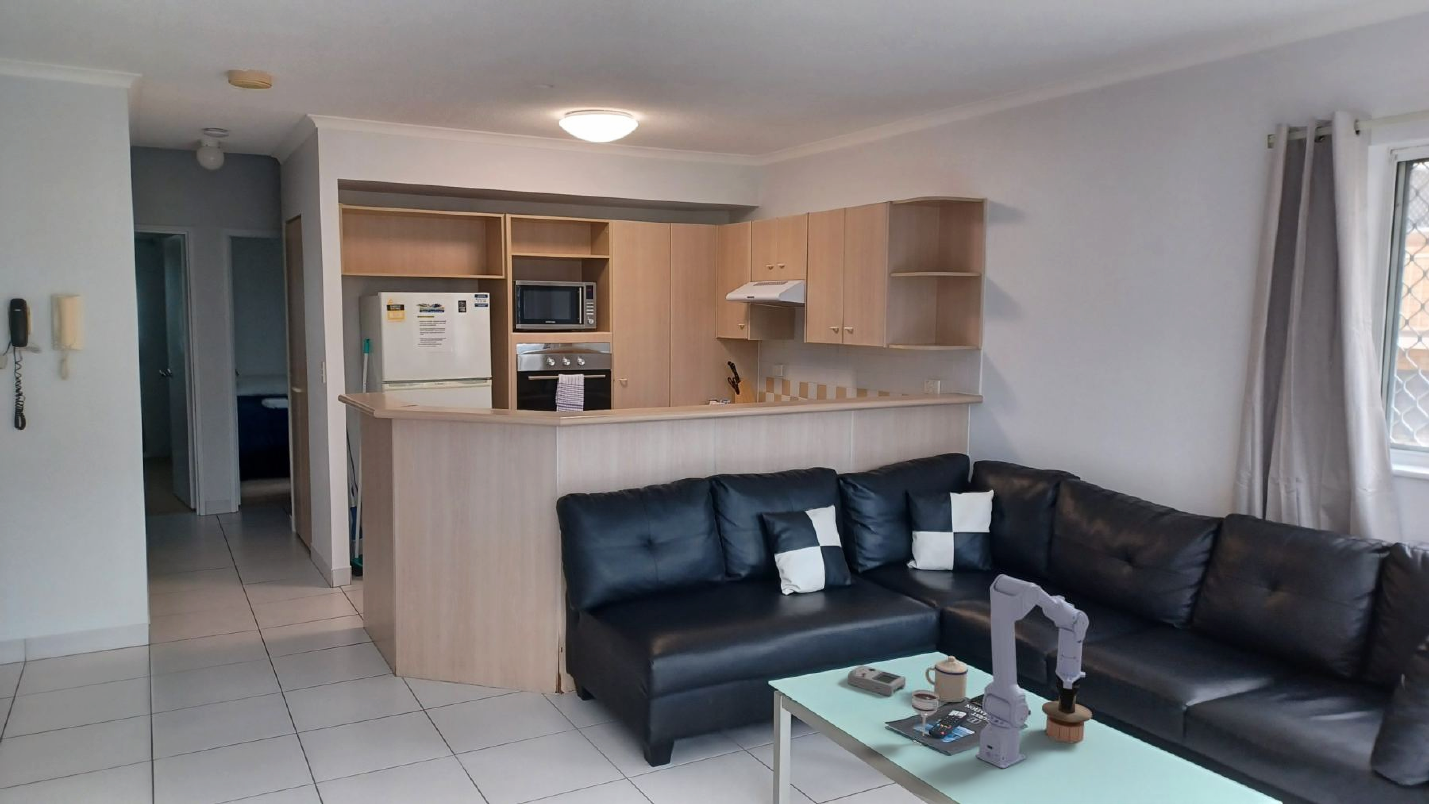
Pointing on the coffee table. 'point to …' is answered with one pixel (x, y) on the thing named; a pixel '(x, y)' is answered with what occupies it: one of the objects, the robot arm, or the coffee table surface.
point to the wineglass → (924, 704)
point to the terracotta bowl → (1064, 730)
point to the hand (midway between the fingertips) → (1066, 705)
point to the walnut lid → (1067, 711)
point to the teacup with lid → (949, 679)
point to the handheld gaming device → (875, 680)
